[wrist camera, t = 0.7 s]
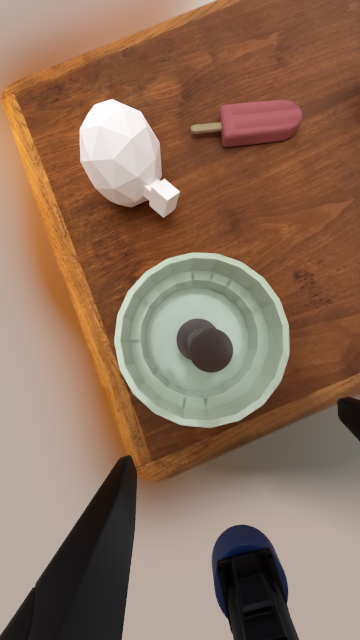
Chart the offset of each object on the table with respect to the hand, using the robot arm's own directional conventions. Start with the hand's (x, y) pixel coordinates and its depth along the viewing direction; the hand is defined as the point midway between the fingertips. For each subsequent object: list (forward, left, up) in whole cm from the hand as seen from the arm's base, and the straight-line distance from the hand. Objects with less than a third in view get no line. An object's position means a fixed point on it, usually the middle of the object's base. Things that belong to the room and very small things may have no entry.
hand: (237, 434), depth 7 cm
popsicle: (+32, -14, -14) cm, 38 cm away
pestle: (+5, 0, -13) cm, 14 cm away
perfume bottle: (+25, +3, -14) cm, 28 cm away
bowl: (+5, 0, -14) cm, 14 cm away
